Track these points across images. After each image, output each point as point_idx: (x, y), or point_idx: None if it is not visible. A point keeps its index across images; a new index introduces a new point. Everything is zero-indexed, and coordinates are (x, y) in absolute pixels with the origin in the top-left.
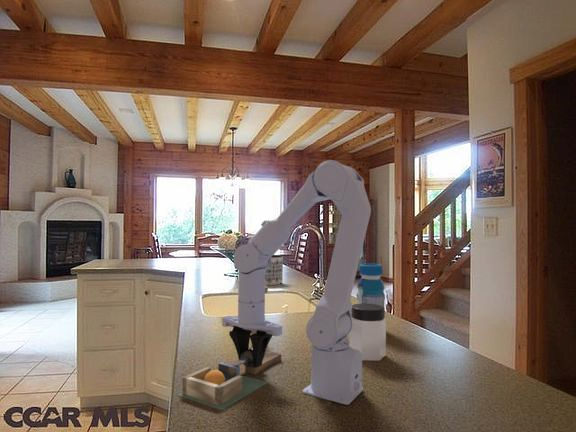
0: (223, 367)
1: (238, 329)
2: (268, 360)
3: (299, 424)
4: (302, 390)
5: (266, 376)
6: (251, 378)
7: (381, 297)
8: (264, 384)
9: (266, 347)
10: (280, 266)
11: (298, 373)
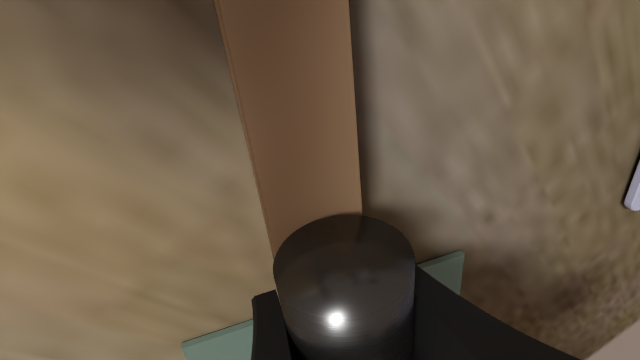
0: None
1: None
2: (354, 130)
3: (636, 314)
4: (632, 209)
5: (408, 206)
6: None
7: None
8: (461, 275)
9: (509, 327)
10: None
11: (552, 29)
